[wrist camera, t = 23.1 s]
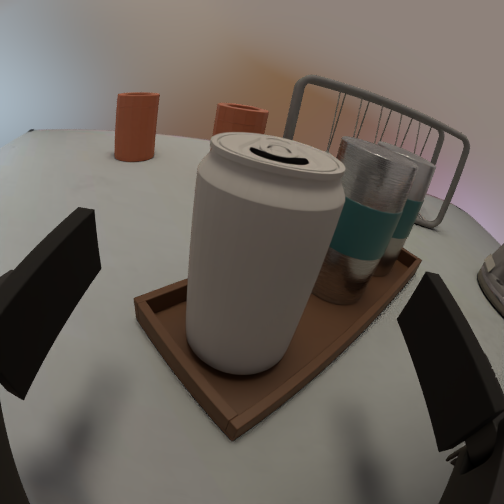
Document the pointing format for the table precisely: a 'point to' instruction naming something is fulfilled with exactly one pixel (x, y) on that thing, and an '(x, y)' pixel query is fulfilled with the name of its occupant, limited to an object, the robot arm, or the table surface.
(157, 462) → the table surface
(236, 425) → the can tray
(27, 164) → the table surface
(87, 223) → the robot arm
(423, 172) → the tray can
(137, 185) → the table surface
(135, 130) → the jar
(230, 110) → the jar
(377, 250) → the tray can
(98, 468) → the table surface
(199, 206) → the beverage can
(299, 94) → the newton's cradle
